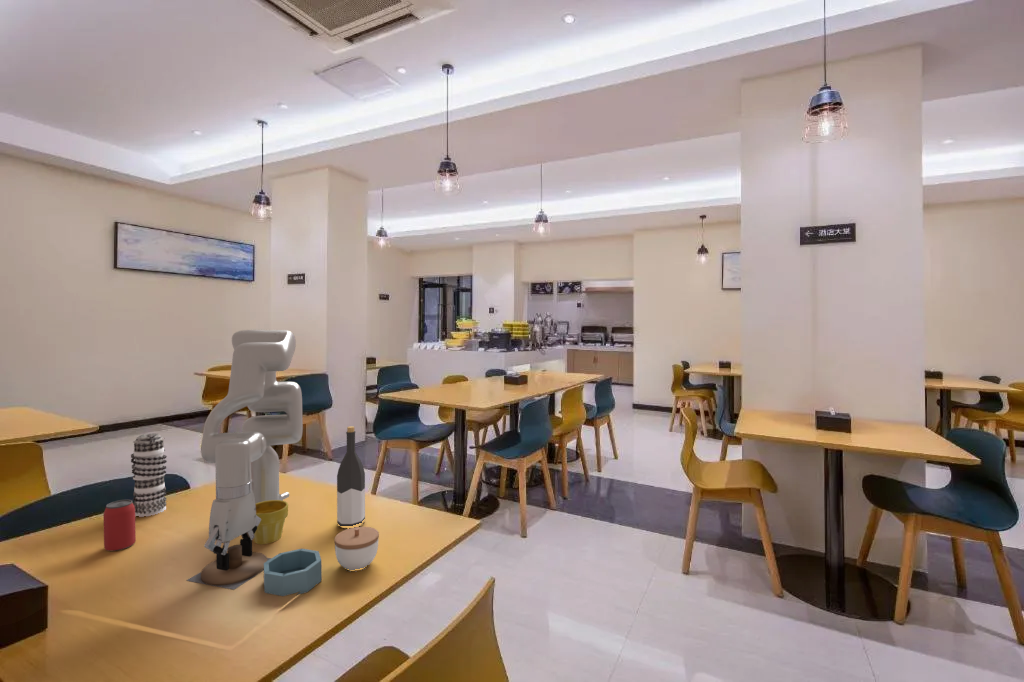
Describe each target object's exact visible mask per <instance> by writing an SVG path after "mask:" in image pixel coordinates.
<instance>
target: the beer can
mask: <svg viewBox="0 0 1024 682" xmlns="http://www.w3.org/2000/svg"><path fill="white" fill-rule="evenodd" d="M133 501H134V500H133V499H120V500H115V501H112V502H110V503H107V504H106V505H105V509H104V511H103V518H102V519H103V548H104V550H105V551H108V552H117V551H121V550H125V549H128V548H129V547H132V546H133V545H134V544H135V543H136V541H137V540H136V535H137V533H136V531H137V530H136V516H135V507H134V505H133V503H134V502H133Z"/></svg>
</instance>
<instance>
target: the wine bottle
mask: <svg viewBox="0 0 1024 682" xmlns="http://www.w3.org/2000/svg"><path fill="white" fill-rule="evenodd" d="M345 434H346V453H345V455H344V457H343V459H342V460H341V462H340V464H339V467H338V471H337V474H336V509H337V510H336V513H337V514H336V518H337V519H336V521H337V523H338V524H339V525H340V526H353V525H356V524H359V523H362V521H363V520H364V519H365V520H366V472H365V467H364V466H363V462H362V460H361V458H360V457H359V455H358V454H357V452H356V431H355V426H354V425H352V426H351V425H350V426H347V429H346V431H345ZM337 523H336V524H337ZM338 524H337V525H338Z"/></svg>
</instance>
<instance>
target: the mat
mask: <svg viewBox="0 0 1024 682" xmlns="http://www.w3.org/2000/svg"><path fill="white" fill-rule="evenodd" d="M271 558H272V557H267V561H268V560H270V559H271ZM262 572H264V570H262V571H261V572H260V573H259V574H261V573H262ZM259 574H257V575H259ZM257 575H255V576H253V577H251V578H249V579H247V580H244V581H241V582H238V583H234V584H228V585H210V586H211V587H219V588H222V589H228V590H233V591H235V590H236V589H238V588H240V587H241V586H242V585H243V584H246V583H247V582H248V581H250V580H252V578H255V577H256V576H257ZM186 581H187V582H191V583H197V584H202V585H208V584H205V583H204V582H202V580H201V571H200V572H198V573H197V574H195V575H193V576H191V577H189V578H188V579H186ZM208 586H209V585H208Z"/></svg>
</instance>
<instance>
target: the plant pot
mask: <svg viewBox="0 0 1024 682" xmlns="http://www.w3.org/2000/svg"><path fill="white" fill-rule="evenodd" d="M255 506H256V515H257V516H258V517H259V518H261V522H260V523H259V525H258V527H257V530H256V532H255V534H254V539H253V543H255V544H257V545H266V544H268V545H269V544H271V543H274V542H277V541H279V540H280V539H281V537H282V534H283V529H284V525H285V520H286V519H287V518H288V515H289V503H288V502H287V501H285V500H283V501H282V500H268V501H263V502H259V503H256V504H255Z"/></svg>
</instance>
